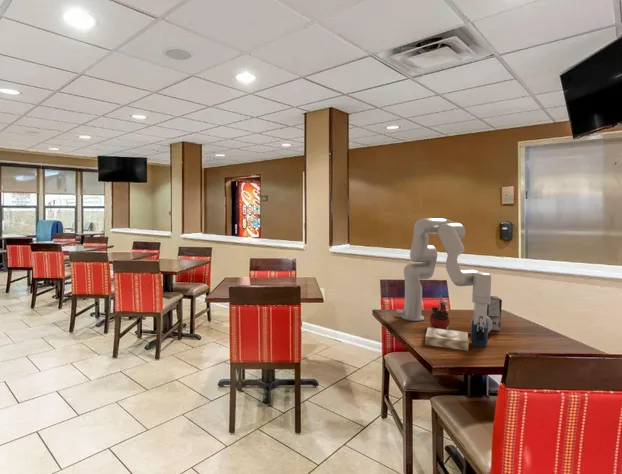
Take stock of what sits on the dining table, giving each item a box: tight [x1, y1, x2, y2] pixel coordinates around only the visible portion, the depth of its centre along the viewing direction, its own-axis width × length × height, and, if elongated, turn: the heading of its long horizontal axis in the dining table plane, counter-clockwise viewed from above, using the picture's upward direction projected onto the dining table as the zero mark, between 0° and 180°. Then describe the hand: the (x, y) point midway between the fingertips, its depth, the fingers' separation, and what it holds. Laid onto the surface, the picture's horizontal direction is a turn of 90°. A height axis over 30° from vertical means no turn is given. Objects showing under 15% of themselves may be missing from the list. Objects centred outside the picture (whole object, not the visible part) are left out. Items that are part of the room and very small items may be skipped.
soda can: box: [470, 317, 489, 347], centre depth 169 cm, size 7×7×12 cm
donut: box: [470, 316, 493, 333], centre depth 184 cm, size 10×4×10 cm, turn 66°
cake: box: [429, 294, 450, 330], centre depth 190 cm, size 11×9×18 cm
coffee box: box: [487, 295, 503, 331], centre depth 195 cm, size 9×6×16 cm
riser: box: [424, 326, 469, 351], centre depth 170 cm, size 18×14×4 cm
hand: (479, 337), depth 169 cm, fingers closed on soda can, 6 cm apart
